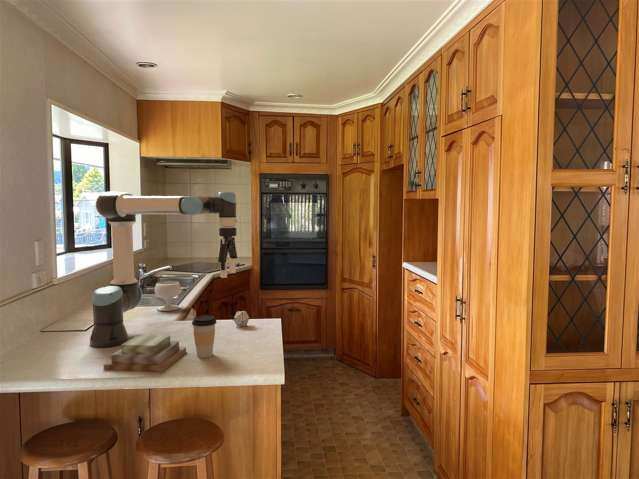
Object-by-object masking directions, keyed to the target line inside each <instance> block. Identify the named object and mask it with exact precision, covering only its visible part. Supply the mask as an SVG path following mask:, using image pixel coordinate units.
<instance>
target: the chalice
mask: <svg viewBox="0 0 639 479" xmlns="http://www.w3.org/2000/svg"><path fill="white" fill-rule="evenodd" d="M181 291H182V288H181V285H180V282H179V281H177V280H164V281H159V282H157V283H155V287H154V294H155V295H156V296H157V297H159V298H160V299H163V300H164V301H165V302H166V303H165V304H166V305H162V306H159V307H158V308H156V310H157V311H160V312H161V311H162V312H171V311H176V310H179V309H180V306H178V305H171V302H172V300H173V299H174V298H176V297H177V296H179V295H180V294H181Z"/></svg>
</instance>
